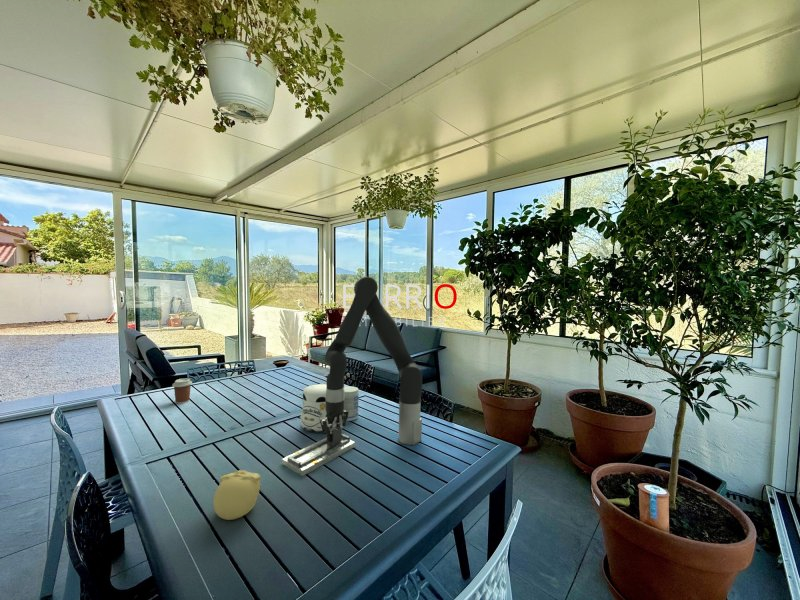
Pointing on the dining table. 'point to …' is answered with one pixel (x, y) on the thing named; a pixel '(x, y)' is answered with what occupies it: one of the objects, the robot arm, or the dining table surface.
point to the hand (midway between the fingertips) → (334, 439)
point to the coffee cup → (182, 390)
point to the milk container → (314, 407)
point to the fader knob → (336, 436)
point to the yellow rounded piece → (236, 494)
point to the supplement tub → (351, 402)
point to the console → (316, 455)
